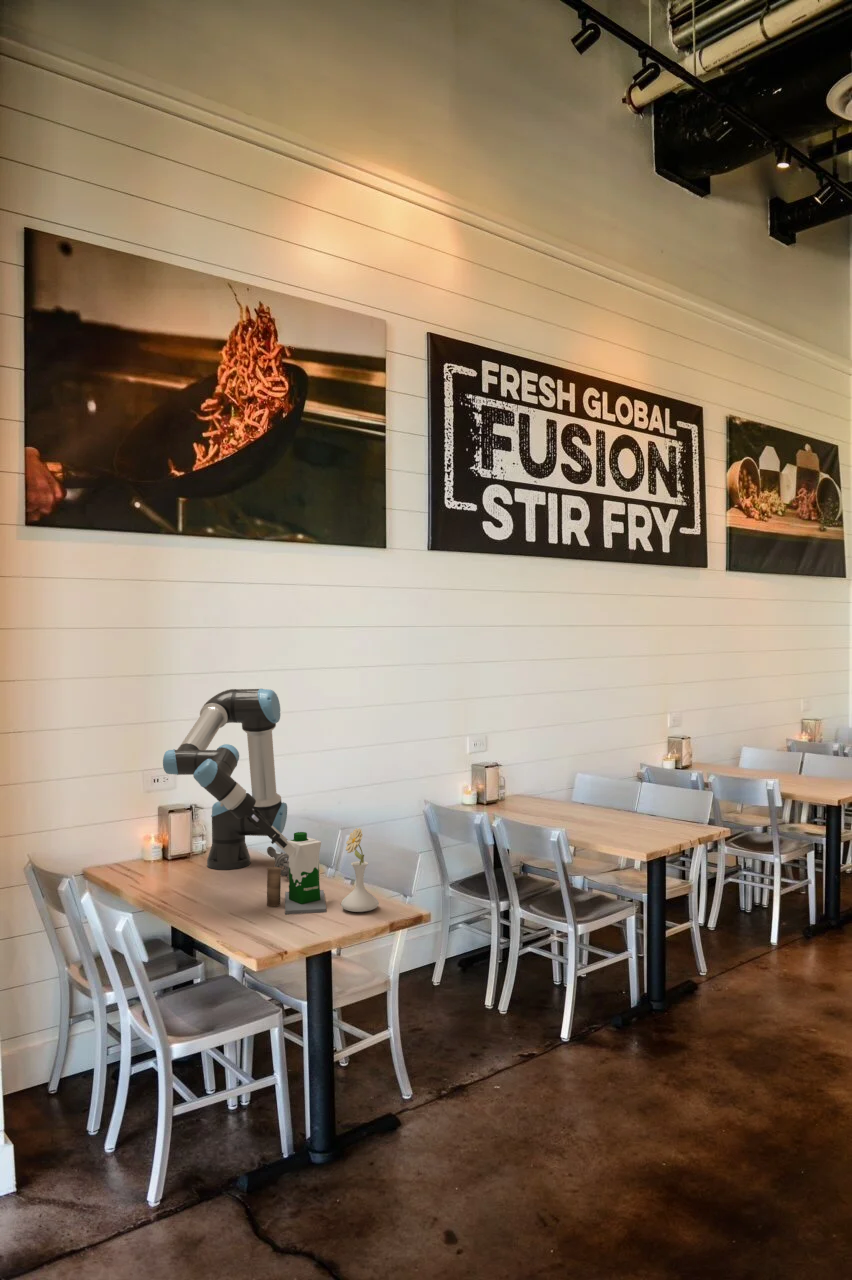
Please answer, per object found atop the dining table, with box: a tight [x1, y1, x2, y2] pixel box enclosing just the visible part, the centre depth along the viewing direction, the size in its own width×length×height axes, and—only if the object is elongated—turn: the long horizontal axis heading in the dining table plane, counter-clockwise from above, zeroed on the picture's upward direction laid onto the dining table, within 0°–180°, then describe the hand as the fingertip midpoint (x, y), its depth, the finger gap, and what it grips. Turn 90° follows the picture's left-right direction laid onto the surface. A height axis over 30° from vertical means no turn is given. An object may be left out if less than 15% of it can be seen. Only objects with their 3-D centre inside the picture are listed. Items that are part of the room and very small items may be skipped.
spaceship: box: [266, 846, 289, 881], centre depth 307 cm, size 8×35×8 cm
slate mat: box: [284, 889, 327, 915], centre depth 275 cm, size 20×12×1 cm, turn 9°
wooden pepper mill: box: [266, 866, 282, 908], centre depth 274 cm, size 4×4×11 cm
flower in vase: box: [340, 827, 380, 913], centre depth 268 cm, size 13×11×25 cm
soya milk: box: [287, 831, 322, 904], centre depth 275 cm, size 9×9×20 cm
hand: (288, 847), depth 273 cm, fingers open, 13 cm apart
